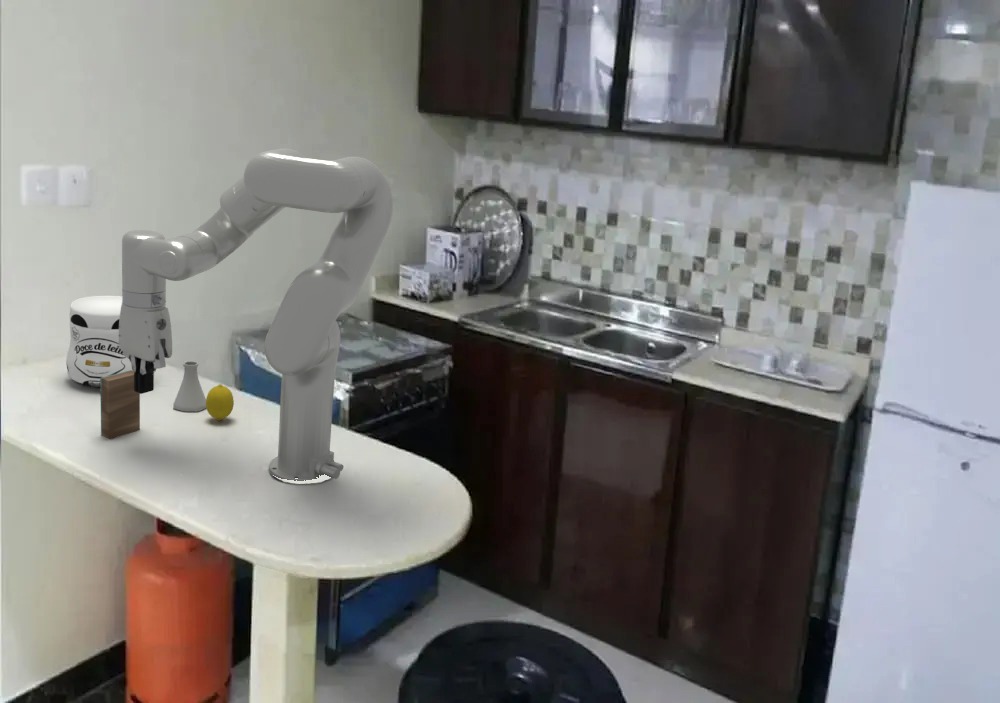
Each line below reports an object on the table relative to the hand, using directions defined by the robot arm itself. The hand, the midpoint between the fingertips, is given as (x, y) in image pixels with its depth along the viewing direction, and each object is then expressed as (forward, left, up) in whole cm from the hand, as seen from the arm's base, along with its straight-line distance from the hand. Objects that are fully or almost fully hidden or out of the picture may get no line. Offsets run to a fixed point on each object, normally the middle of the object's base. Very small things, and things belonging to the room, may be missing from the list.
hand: (143, 391), depth 177 cm
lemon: (-1, -18, -11) cm, 21 cm away
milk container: (+32, -16, -11) cm, 38 cm away
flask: (+9, -19, -11) cm, 24 cm away
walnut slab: (+7, 0, -11) cm, 13 cm away
